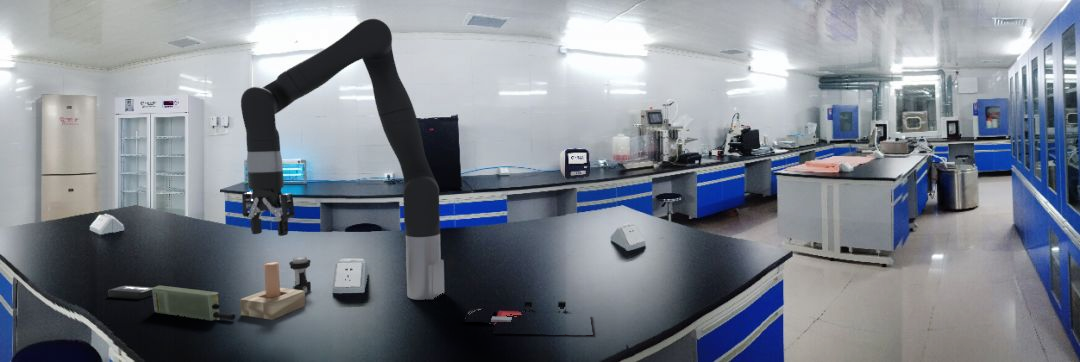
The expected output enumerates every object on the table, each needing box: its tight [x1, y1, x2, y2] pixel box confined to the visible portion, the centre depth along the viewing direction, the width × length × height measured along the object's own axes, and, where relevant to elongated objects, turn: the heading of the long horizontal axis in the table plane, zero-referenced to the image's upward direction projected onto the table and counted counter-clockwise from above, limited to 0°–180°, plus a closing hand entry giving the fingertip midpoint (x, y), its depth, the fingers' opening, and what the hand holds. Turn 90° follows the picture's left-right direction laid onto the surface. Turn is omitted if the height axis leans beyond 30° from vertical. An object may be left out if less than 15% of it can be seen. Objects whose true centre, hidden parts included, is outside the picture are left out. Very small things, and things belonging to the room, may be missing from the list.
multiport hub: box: [107, 285, 155, 300], centre depth 128 cm, size 4×11×2 cm, turn 79°
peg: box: [263, 261, 281, 299], centre depth 116 cm, size 3×3×12 cm
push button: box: [288, 256, 312, 294], centre depth 129 cm, size 7×5×10 cm
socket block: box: [239, 287, 306, 320], centre depth 117 cm, size 10×10×4 cm
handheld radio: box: [152, 285, 236, 321], centre depth 113 cm, size 7×3×25 cm
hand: (269, 234), depth 115 cm, fingers open, 8 cm apart
